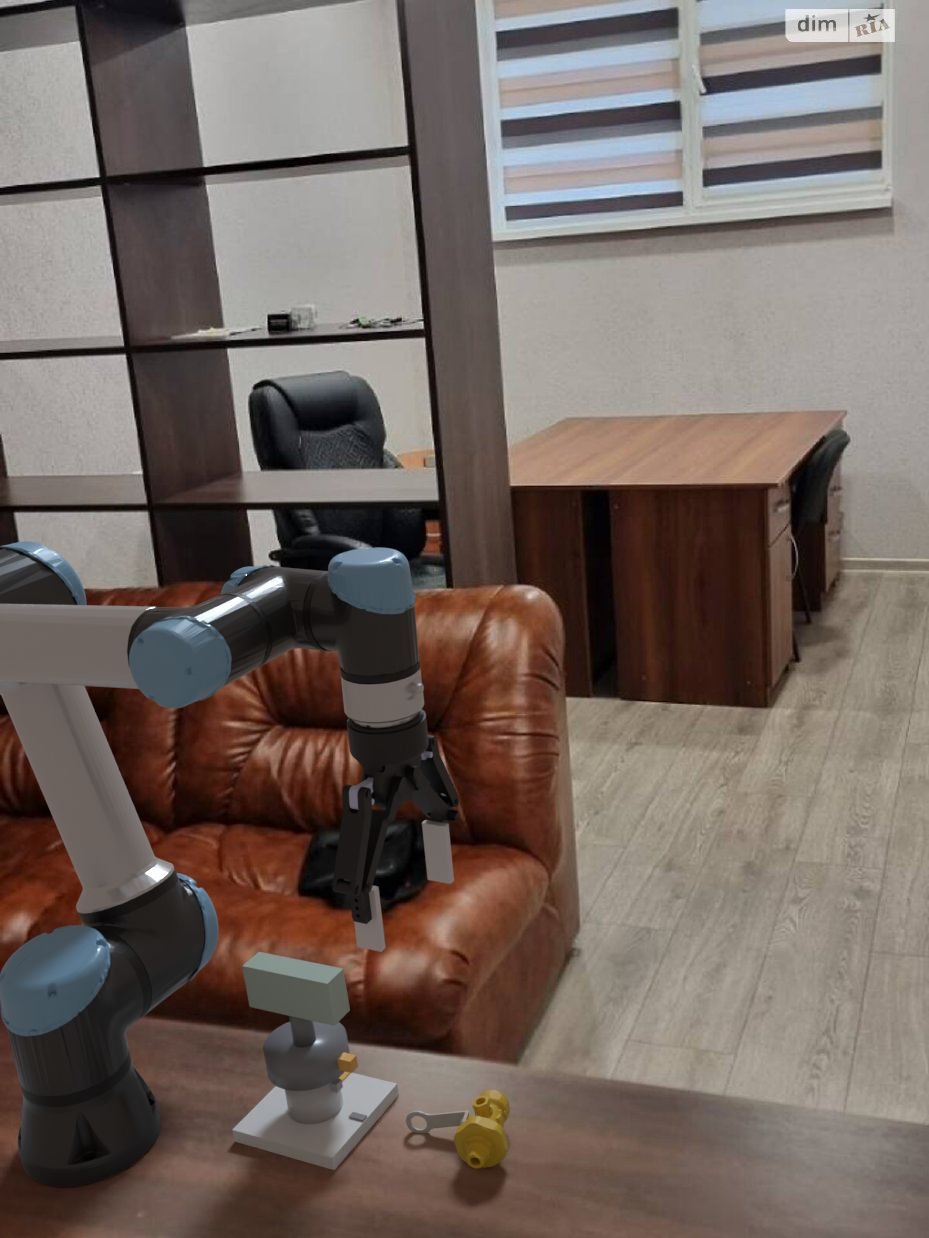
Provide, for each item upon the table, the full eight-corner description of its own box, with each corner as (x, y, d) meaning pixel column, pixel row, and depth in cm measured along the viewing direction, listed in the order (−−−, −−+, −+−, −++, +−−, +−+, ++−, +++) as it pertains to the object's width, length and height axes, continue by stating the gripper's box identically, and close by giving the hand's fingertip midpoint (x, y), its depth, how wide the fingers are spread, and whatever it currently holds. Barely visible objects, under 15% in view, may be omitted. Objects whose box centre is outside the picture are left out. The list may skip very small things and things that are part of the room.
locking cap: (243, 1078, 146) (224, 980, 142) (291, 1031, 153) (275, 937, 150) (332, 1101, 140) (315, 1000, 137) (378, 1051, 148) (363, 954, 144)
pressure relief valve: (525, 1116, 144) (506, 1182, 135) (421, 1126, 148) (395, 1191, 139) (511, 1072, 143) (491, 1136, 134) (406, 1083, 147) (379, 1146, 137)
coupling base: (234, 1141, 147) (224, 1089, 145) (303, 1071, 157) (294, 1022, 155) (334, 1170, 140) (325, 1116, 138) (398, 1094, 151) (391, 1044, 149)
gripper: (347, 770, 116) (373, 986, 122) (481, 671, 136) (498, 860, 143) (275, 760, 119) (304, 970, 126) (417, 664, 140) (436, 849, 146)
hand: (407, 912), depth 134 cm, fingers open, 13 cm apart
